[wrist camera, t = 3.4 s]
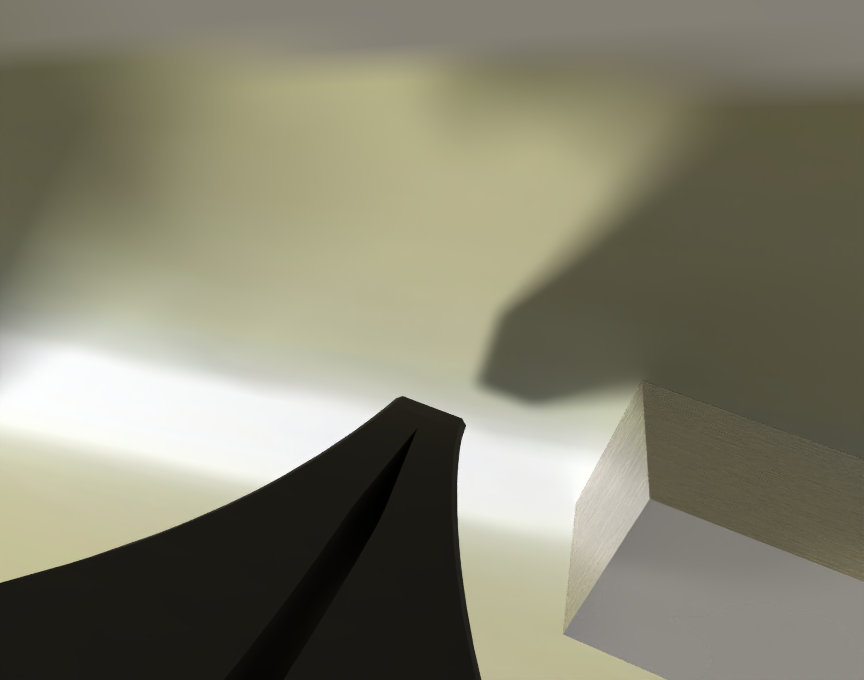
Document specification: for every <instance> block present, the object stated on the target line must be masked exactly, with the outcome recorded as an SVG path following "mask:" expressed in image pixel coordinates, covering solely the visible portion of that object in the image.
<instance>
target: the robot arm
mask: <svg viewBox="0 0 864 680" xmlns="http://www.w3.org/2000/svg"><path fill="white" fill-rule="evenodd" d="M465 427H466V425H465V423H464V421H463V419H462V418H459V417H457V416H454V415H451V414H449V413H446V412H443V411H441V410H438V409H435V408H433V407H430V406H427V405H425V404H422V403H419V402H417V401H414V400H412V399H409V398H406V397H404V396H401V397H399V398H396V399H395V400H394V401H392V402H391V403H390V404H389V405H388V406H386V407H385V408H384V409H383V410H381V411H380V412H379V413H378V414H376V415H375V416H374V417H372V418H371V419H370V420H369V421H367V422H366V423H364V424H363V425H362V426H360V427H359V428H358V429H356V430H355V431H353V432H352V433H351V434H349V435H348V436H346V437H345V438H343V439H342V440H340V441H339V442H337V443H336V444H334V445H333V446H331V447H330V448H328V449H327V450H325V451H324V452H322V453H321V454H319V455H317V456H316V457H314V458H312V459H311V460H309V461H307V462H306V463H304V464H302V465H301V466H299V467H297V468H296V469H294V470H292V471H291V472H289V473H287V474H286V475H284V476H282V477H280V478H278V479H277V480H275V481H273V482H271V483H269V484H267V485H265V486H263V487H262V488H260V489H258V490H256V491H254V492H252V493H250V494H248V495H246V496H244V497H242V498H239V499H237V500H235V501H233V502H231V503H229V504H227V505H225V506H222V507H220V508H218V509H216V510H213V511H211V512H209V513H206V514H204V515H202V516H200V517H197V518H195V519H193V520H190V521H188V522H186V523H183V524H181V525H178V526H176V527H173V528H171V529H168V530H166V531H163V532H160V533H158V534H155V535H152V536H149V537H146V538H143V539H141V540H138V541H135V542H132V543H129V544H126V545H123V546H121V547H118V548H115V549H112V550H109V551H106V552H103V553H100V554H98V555H95V556H92V557H89V558H86V559H82V560H79V561H76V562H73V563H70V564H66V565H63V566H59V567H55V568H52V569H48V570H45V571H41V572H38V573H34V574H30V575H27V576H23V577H20V578H16V579H12V580H9V581H5V582H2V583H0V680H481V676H480V672H479V668H478V663H477V659H476V655H475V650H474V645H473V640H472V635H471V629H470V623H469V618H468V612H467V606H466V599H465V592H464V585H463V578H462V569H461V560H460V549H459V536H458V517H457V475H458V461H459V452H460V445H461V440H462V436H463V433H464V430H465Z"/></svg>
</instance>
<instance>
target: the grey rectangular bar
mask: <svg viewBox="0 0 864 680" xmlns="http://www.w3.org/2000/svg"><path fill="white" fill-rule="evenodd" d="M563 634H564V635H566V636H569V637H571V638H573V639H575V640H578V641H580V642H582V643H585V644H587V645H589V646H592V647H594V648H596V649H598V650H601V651H603V652H605V653H608V654H610V655H612V656H615V657H617V658H619V659H622V660H624V661H626V662H628V663H631V664H633V665H635V666H638V667H640V668H642V669H645V670H647V671H649V672H651V673H654V674H656V675H658V676H661V677H663V678H665V679H668V680H864V460H863V459H861V458H858V457H855V456H852V455H849V454H847V453H844V452H841V451H838V450H835V449H833V448H830V447H827V446H824V445H821V444H818V443H816V442H813V441H810V440H807V439H804V438H802V437H799V436H796V435H793V434H790V433H788V432H785V431H782V430H779V429H776V428H773V427H771V426H768V425H765V424H762V423H759V422H757V421H754V420H751V419H748V418H745V417H743V416H740V415H737V414H734V413H731V412H729V411H726V410H723V409H720V408H717V407H714V406H712V405H709V404H706V403H703V402H700V401H698V400H695V399H692V398H689V397H686V396H684V395H681V394H678V393H675V392H672V391H669V390H667V389H664V388H661V387H658V386H655V385H653V384H650V383H647V382H644V381H642V382H641V383H640V385H639V387H638V389H637V391H636V393H635V395H634V396H633V398H632V400H631V402H630V404H629V406H628V408H627V409H626V411H625V413H624V415H623V417H622V419H621V421H620V422H619V424H618V426H617V428H616V430H615V432H614V434H613V435H612V437H611V439H610V441H609V443H608V445H607V447H606V448H605V450H604V452H603V454H602V456H601V458H600V460H599V461H598V463H597V465H596V467H595V469H594V471H593V473H592V474H591V476H590V478H589V480H588V482H587V484H586V486H585V487H584V489H583V491H582V493H581V495H580V497H579V499H578V500H577V502H576V508H575V518H574V528H573V538H572V548H571V558H570V569H569V579H568V589H567V599H566V609H565V619H564V629H563Z"/></svg>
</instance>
